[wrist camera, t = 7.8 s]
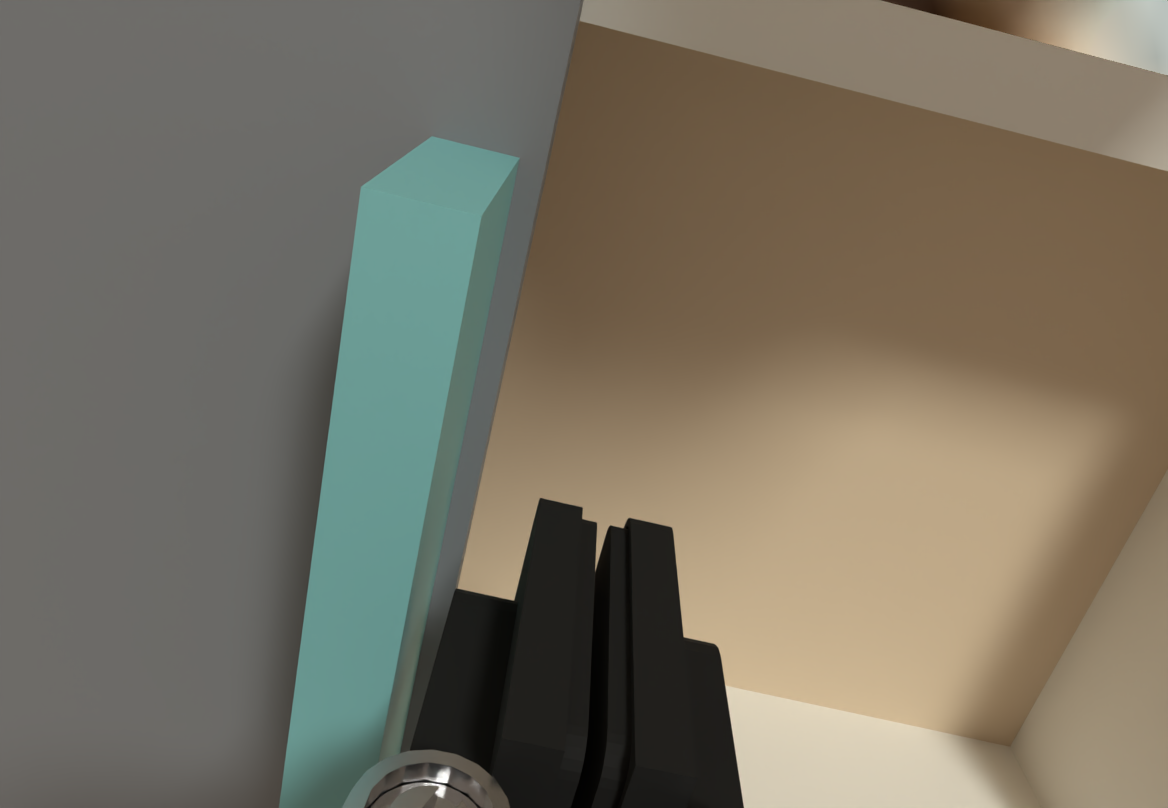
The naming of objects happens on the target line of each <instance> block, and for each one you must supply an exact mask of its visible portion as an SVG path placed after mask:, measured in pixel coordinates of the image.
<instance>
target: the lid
mask: <svg viewBox="0 0 1168 808" xmlns="http://www.w3.org/2000/svg"><path fill="white" fill-rule="evenodd" d="M583 2H584V0H0V808H342V806H343V805H344V803H345V801H346V799H347V797H348V795H349V794H350V792H351V790H352V788H353V787H354V786H355V784H356V783H357V782H358V781H359V779H360V778H361V777H362V776H363V774H364V773H365V772H366V771H367V770H368V769H370V768H371V767H373V766H374V765H376V764H377V763H379V762H380V761H382V760H383V759H385V758H387V757H390V756H393V755H397V754H400V753H403V752H406V751H410V747H411V743H412V740H413V736H414V733H415V729H416V726H417V722H418V719H419V715H420V711H421V708H422V704H423V701H424V697H425V694H426V690H427V687H428V683H429V680H430V676H431V672H432V669H433V665H434V662H435V658H436V655H437V651H438V648H439V644H440V640H441V637H442V633H443V630H444V626H445V623H446V619H447V616H448V612H449V608H450V605H451V601H452V598H453V594H454V591H455V589H456V588H457V589H458V584H459V580H460V575H461V570H462V566H463V561H464V556H465V552H466V547H467V543H468V538H469V533H470V529H471V524H472V519H473V515H474V510H475V505H476V501H477V496H478V491H479V487H480V482H481V477H482V473H483V468H484V463H485V459H486V454H487V449H488V445H489V440H490V435H491V431H492V426H493V421H494V417H495V412H496V407H497V403H498V398H499V393H500V389H501V384H502V379H503V375H504V370H505V365H506V361H507V356H508V351H509V347H510V342H511V337H512V333H513V328H514V324H515V319H516V314H517V310H518V305H519V300H520V296H521V291H522V286H523V282H524V277H525V272H526V268H527V263H528V258H529V254H530V249H531V244H532V240H533V235H534V230H535V226H536V221H537V216H538V212H539V207H540V202H541V198H542V193H543V188H544V184H545V179H546V174H547V170H548V165H549V160H550V156H551V151H552V146H553V142H554V137H555V132H556V128H557V123H558V118H559V114H560V109H561V105H562V100H563V95H564V91H565V86H566V81H567V77H568V72H569V67H570V63H571V58H572V53H573V49H574V44H575V39H576V35H577V30H578V25H579V21H580V16H581V11H582V7H583Z"/></svg>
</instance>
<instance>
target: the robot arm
mask: <svg viewBox="0 0 1168 808" xmlns="http://www.w3.org/2000/svg"><path fill="white" fill-rule="evenodd" d="M582 515H583V508H582V507H579V506H575V505H570V504H566V503H561V502H557V501H552V500H548V499H543V498H540V499H539V502H538V506H537V510H536V514H535V518H534V522H533V526H532V530H531V534H530V538H529V542H528V546H527V550H526V554H525V558H524V562H523V566H522V570H521V574H520V579H519V583H518V587H517V591H516V595H515V599H514V601H513V600H508V599H504V598H499V597H494V596H490V595H485V594H480V593H476V592H471V591H467V590H462V589H457V588H456V589H455V591H454V594H453V598H452V601H451V605H450V608H449V612H448V616H447V619H446V623H445V626H444V630H443V633H442V637H441V640H440V644H439V648H438V651H437V655H436V658H435V662H434V665H433V669H432V672H431V676H430V680H429V683H428V687H427V690H426V694H425V697H424V701H423V704H422V708H421V711H420V715H419V719H418V722H417V726H416V729H415V733H414V736H413V740H412V743H411V747H410V751H406V752H403V753H400V754H397V755H393V756H390V757H387V758H385V759H383V760H382V761H380V762H379V763H377V764H376V765H374V766H373V767H371V768H370V769H368V770H367V771H366V772H365V773H364V774H363V776H362V777H361V778H360V779H359V781H358V782H357V783H356V784H355V786H354V787H353V788H352V790H351V792H350V794H349V795H348V797H347V799H346V801H345V803H344V805H343V806H342V808H744V805H743V798H742V792H741V785H740V778H739V772H738V765H737V759H736V752H735V746H734V739H733V733H732V726H731V720H730V713H729V706H728V700H727V693H726V687H725V680H724V674H723V667H722V661H721V655H720V652H719V648H718V647H717V646H716V645H715V644H713V643H708V642H704V641H699V640H694V639H690V638H685V637H684V636H683V626H682V616H681V606H680V595H679V585H678V575H677V565H676V555H675V545H674V535H673V529H672V527H669V526H665V525H660V524H656V523H651V522H647V521H642V520H638V519H633V518H628V519H627V521H626V523H625V526H624V528H620V527H616V526H611V525H610V526H609V528H608V530H607V533H606V536H605V539H604V543H603V546H602V550H601V553H600V557H599V560H598V564H597V567H596V571H595V564H596V542H597V522H593V521H589V520H584V519H582Z"/></svg>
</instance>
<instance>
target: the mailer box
mask: <svg viewBox="0 0 1168 808" xmlns="http://www.w3.org/2000/svg"><path fill="white" fill-rule="evenodd" d="M540 498H543V499H548V500H552V501H557V502H561V503H566V504H570V505H575V506H579V507H582V508H583V515H582V519H584V520H589V521H593V522H597V542H596V564H595V571H596V567H597V564H598V560H599V557H600V553H601V550H602V546H603V543H604V539H605V536H606V533H607V530H608V528H609V526H610V525H611V526H616V527H620V528H624V526H625V523H626V521H627V519H628V518H633V519H638V520H642V521H647V522H651V523H656V524H660V525H665V526H669V527H672V529H673V535H674V545H675V555H676V565H677V575H678V585H679V595H680V606H681V616H682V626H683V636H684V637H685V638H690V639H694V640H699V641H704V642H708V643H713V644H715V645H716V646H717V647H718V648H719V652H720V655H721V661H722V667H723V674H724V680H725V687H726V693H727V700H728V706H729V713H730V720H731V726H732V733H733V739H734V746H735V752H736V759H737V765H738V772H739V778H740V785H741V792H742V798H743V805H744V808H1168V76H1167V75H1164V74H1160V73H1156V72H1152V71H1148V70H1144V69H1141V68H1137V67H1133V66H1129V65H1125V64H1122V63H1118V62H1114V61H1110V60H1106V59H1103V58H1099V57H1095V56H1091V55H1087V54H1084V53H1080V52H1076V51H1072V50H1068V49H1064V48H1061V47H1057V46H1053V45H1049V44H1045V43H1042V42H1038V41H1034V40H1030V39H1026V38H1023V37H1019V36H1015V35H1011V34H1007V33H1003V32H1000V31H996V30H992V29H988V28H984V27H981V26H977V25H973V24H969V23H965V22H962V21H958V20H954V19H950V18H946V17H943V16H939V15H935V14H931V13H927V12H923V11H920V10H916V9H912V8H908V7H904V6H901V5H897V4H893V3H889V2H885V1H882V0H584V2H583V7H582V11H581V16H580V21H579V25H578V30H577V35H576V39H575V44H574V49H573V53H572V58H571V63H570V67H569V72H568V77H567V81H566V86H565V91H564V95H563V100H562V105H561V109H560V114H559V118H558V123H557V128H556V132H555V137H554V142H553V146H552V151H551V156H550V160H549V165H548V170H547V174H546V179H545V184H544V188H543V193H542V198H541V202H540V207H539V212H538V216H537V221H536V226H535V230H534V235H533V240H532V244H531V249H530V254H529V258H528V263H527V268H526V272H525V277H524V282H523V286H522V291H521V296H520V300H519V305H518V310H517V314H516V319H515V324H514V328H513V333H512V337H511V342H510V347H509V351H508V356H507V361H506V365H505V370H504V375H503V379H502V384H501V389H500V393H499V398H498V403H497V407H496V412H495V417H494V421H493V426H492V431H491V435H490V440H489V445H488V449H487V454H486V459H485V463H484V468H483V473H482V477H481V482H480V487H479V491H478V496H477V501H476V505H475V510H474V515H473V519H472V524H471V529H470V533H469V538H468V543H467V547H466V552H465V556H464V561H463V566H462V570H461V575H460V580H459V584H458V589H462V590H467V591H471V592H476V593H480V594H485V595H490V596H494V597H499V598H504V599H508V600H513V601H514V599H515V595H516V591H517V587H518V583H519V579H520V574H521V570H522V566H523V562H524V558H525V554H526V550H527V546H528V542H529V538H530V534H531V530H532V526H533V522H534V518H535V514H536V510H537V506H538V502H539V499H540Z"/></svg>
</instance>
